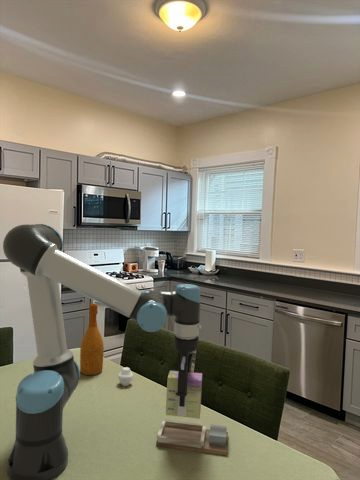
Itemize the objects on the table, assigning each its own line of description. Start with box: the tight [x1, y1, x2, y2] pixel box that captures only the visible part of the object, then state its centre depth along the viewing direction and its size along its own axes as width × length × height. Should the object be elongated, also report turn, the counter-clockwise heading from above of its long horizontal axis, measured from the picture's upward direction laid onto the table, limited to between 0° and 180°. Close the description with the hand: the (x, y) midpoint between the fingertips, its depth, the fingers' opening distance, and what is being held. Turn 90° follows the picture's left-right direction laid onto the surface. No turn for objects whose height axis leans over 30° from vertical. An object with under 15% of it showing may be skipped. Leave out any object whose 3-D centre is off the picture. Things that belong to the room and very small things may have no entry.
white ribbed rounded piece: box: [117, 366, 134, 387], centre depth 146 cm, size 6×6×7 cm
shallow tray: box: [155, 419, 229, 456], centre depth 110 cm, size 10×21×4 cm, turn 81°
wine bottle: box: [79, 303, 105, 376], centre depth 156 cm, size 10×10×30 cm
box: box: [165, 370, 203, 419], centre depth 110 cm, size 10×6×12 cm, turn 84°
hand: (183, 409), depth 110 cm, fingers closed on box, 6 cm apart
